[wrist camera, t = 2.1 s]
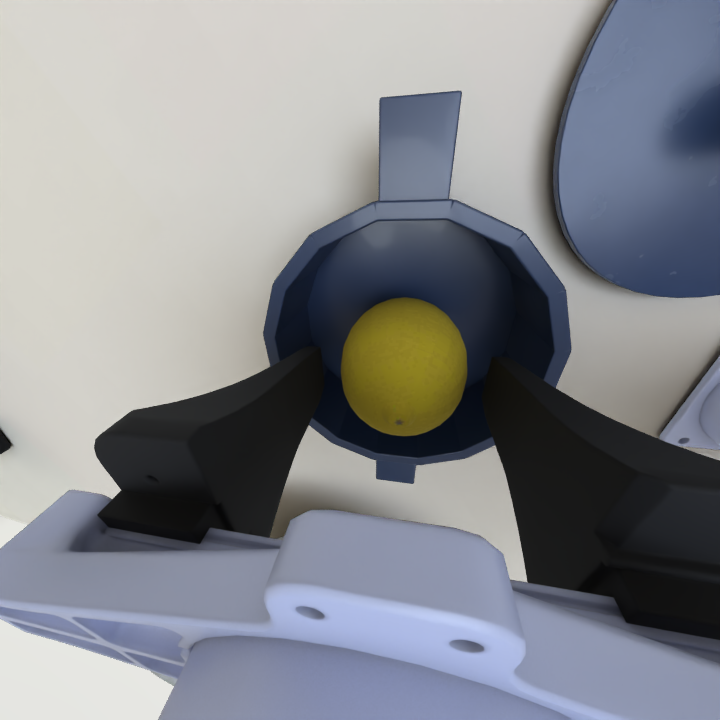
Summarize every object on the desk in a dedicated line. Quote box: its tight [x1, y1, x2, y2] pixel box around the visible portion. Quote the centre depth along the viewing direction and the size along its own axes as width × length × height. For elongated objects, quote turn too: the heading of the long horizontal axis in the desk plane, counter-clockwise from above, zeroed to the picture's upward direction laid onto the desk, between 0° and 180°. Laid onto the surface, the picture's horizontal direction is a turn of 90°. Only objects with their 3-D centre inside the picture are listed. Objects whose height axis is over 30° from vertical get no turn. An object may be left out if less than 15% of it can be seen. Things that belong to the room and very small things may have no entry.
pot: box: [263, 91, 571, 484], centre depth 14 cm, size 13×18×5 cm
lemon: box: [341, 297, 467, 436], centre depth 12 cm, size 6×6×8 cm
